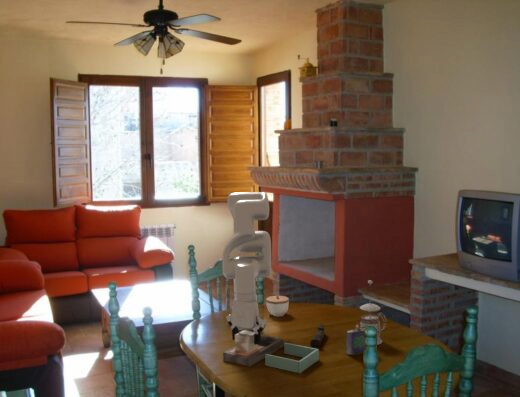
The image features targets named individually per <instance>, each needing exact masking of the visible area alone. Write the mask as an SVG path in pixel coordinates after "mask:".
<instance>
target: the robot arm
mask: <svg viewBox="0 0 520 397" xmlns="http://www.w3.org/2000/svg"><path fill="white" fill-rule="evenodd" d="M268 197H269V196H268V194H267V193H265V192H264V191H263V192H262V191H243V192H242V191H241V192H239V191H238V192H231V193H229V194H228V196H227V199H226V201H227V207H228V210H229V212H230V214H231V216H232V219H233V220H232V221H233V236H232V237H231V238H230V239H229V240H228V241H227V242H226V244H225V245H224V248H223V250H222V275H223V276H224V278H225V279H229V280H233V293H232V295H233V301H232V308H231V314H229V315H227V316H226V317H225V319H226V320H227V323H228V325H229V327H230V330H231V336H232V341H235V334H237V333H239V332H241V331H243V330H246V331H253V332H255V334H254V344H255V345H256V344H258V343H260V340H261V339H260V334H261V333H262V332H263V331H264V330H265V328H266V325H267V321H265V320H263V318H261V317H260V310H259V304H258V300H257V296H256V295H257V294H256V292H257V289H256V278H267V277H270V276H271V274H272V267H273V266H272V265H273V264H272V239H271V235H270V233H269V232H268V231H265V230H255V229H256V228H255V226H256V225H255V221H266V220H267V219H268V218H269V215H270V203H269V202H270V201H269V198H268ZM234 249H235V251H236V252H238V253H244V254H250V253H253V254H254V253H259V254H260V255H239V256H236V257H234V258H230V256H231V253H232V251H234Z"/></svg>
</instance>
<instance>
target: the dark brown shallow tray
mask: <svg viewBox="0 0 520 397" xmlns="http://www.w3.org/2000/svg"><path fill="white" fill-rule="evenodd" d="M260 339H261V340H260V343H258V344H257V349H255V350H253V351H252V352H250V353H245V352H240V351H236V350H235V345H234V346H233V347H231V348H229V349H227V350H225V351H223V352H222V356H223V358H222V360H223V361H225V362H228V363H229V362H230V363H232V364H233V363H234V364H238V365H243V366H246V367H247V366H248V367H252V366H254V365H255V364H257V363H259V362H261V361H262V360H264V359H265V354H269V355H273V354H274V353H275V352H277V351H278V350H280V349H282V348H283V347H284V343H285V342H284V341H285V339H284V338H280V337H275V336H270V335H266V334H265V335H264V334H261V333H260Z"/></svg>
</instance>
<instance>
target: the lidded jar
mask: <svg viewBox="0 0 520 397" xmlns="http://www.w3.org/2000/svg"><path fill="white" fill-rule="evenodd" d="M265 301H266V308H267V310H268V313H270V315H271V316H272V315H273V316H272V317H283V316H284V315H285V314H286V313H287V312H288V309H289V302H290V299H289V297H288V296H285V295H279V294H277V295H272V296H267V297H266V298H265Z"/></svg>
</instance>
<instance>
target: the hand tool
mask: <svg viewBox="0 0 520 397" xmlns="http://www.w3.org/2000/svg"><path fill="white" fill-rule="evenodd" d="M324 337H325V325H324V324H319V326H318V327H317V330H316V333H315V335H314V336H313V339H310V348H315V349H320V347H321V343H322V341H323V339H324Z"/></svg>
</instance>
